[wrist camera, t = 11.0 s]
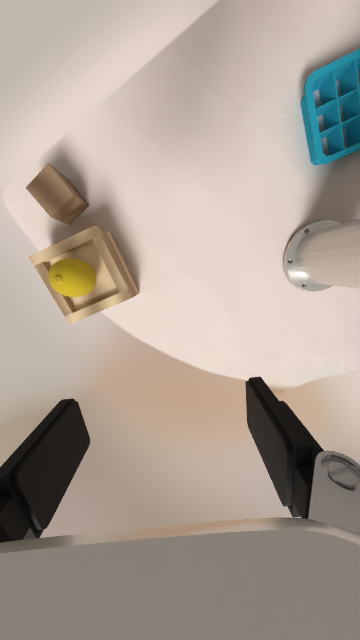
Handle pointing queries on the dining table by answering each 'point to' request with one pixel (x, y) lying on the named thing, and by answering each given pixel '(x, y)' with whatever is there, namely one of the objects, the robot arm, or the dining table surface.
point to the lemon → (72, 277)
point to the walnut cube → (57, 195)
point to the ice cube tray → (333, 109)
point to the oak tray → (106, 263)
